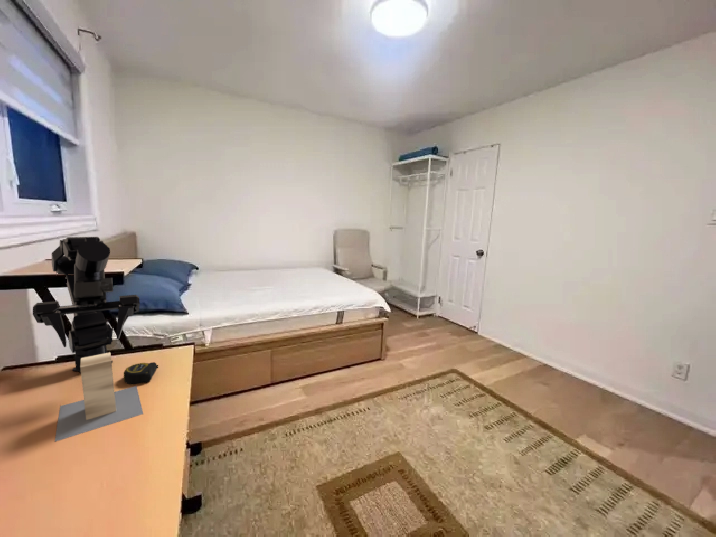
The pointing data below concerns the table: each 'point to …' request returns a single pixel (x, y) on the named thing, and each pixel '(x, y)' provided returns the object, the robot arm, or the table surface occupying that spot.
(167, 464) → the table surface
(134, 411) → the slate tile
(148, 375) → the tape measure
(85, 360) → the birch block
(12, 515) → the table surface
